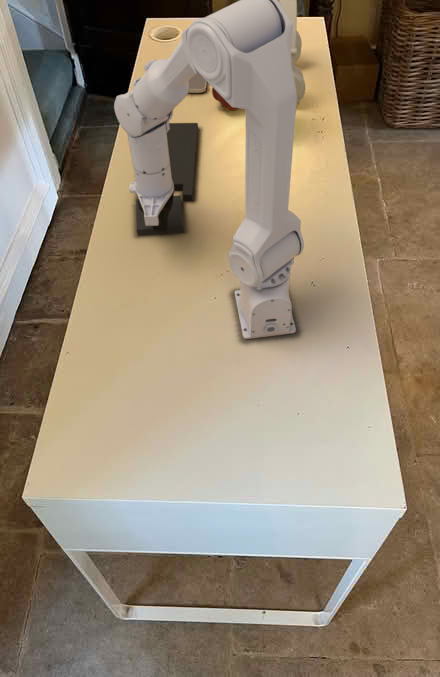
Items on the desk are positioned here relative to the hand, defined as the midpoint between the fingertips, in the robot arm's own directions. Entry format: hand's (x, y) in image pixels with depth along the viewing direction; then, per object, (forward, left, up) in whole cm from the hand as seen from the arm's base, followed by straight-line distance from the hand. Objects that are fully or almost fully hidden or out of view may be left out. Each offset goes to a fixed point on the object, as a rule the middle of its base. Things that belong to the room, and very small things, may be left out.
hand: (160, 228), depth 103 cm
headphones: (+42, -30, -1) cm, 52 cm away
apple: (+36, -18, -1) cm, 40 cm away
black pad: (+19, -3, -1) cm, 19 cm away
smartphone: (+50, -10, -1) cm, 51 cm away
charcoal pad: (+5, 0, -1) cm, 5 cm away
